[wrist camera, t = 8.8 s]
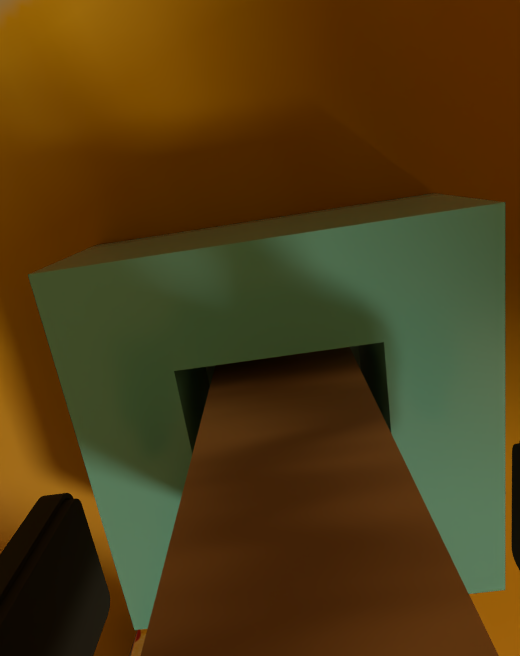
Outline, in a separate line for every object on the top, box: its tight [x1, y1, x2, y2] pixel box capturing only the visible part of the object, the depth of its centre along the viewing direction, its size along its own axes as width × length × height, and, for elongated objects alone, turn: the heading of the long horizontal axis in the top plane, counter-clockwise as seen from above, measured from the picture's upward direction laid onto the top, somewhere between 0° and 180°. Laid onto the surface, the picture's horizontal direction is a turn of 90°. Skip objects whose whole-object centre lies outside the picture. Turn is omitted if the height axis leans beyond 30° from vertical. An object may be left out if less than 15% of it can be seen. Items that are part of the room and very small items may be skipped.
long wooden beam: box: [141, 347, 498, 656], centre depth 11 cm, size 4×4×14 cm
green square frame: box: [28, 193, 505, 630], centre depth 16 cm, size 11×11×5 cm
